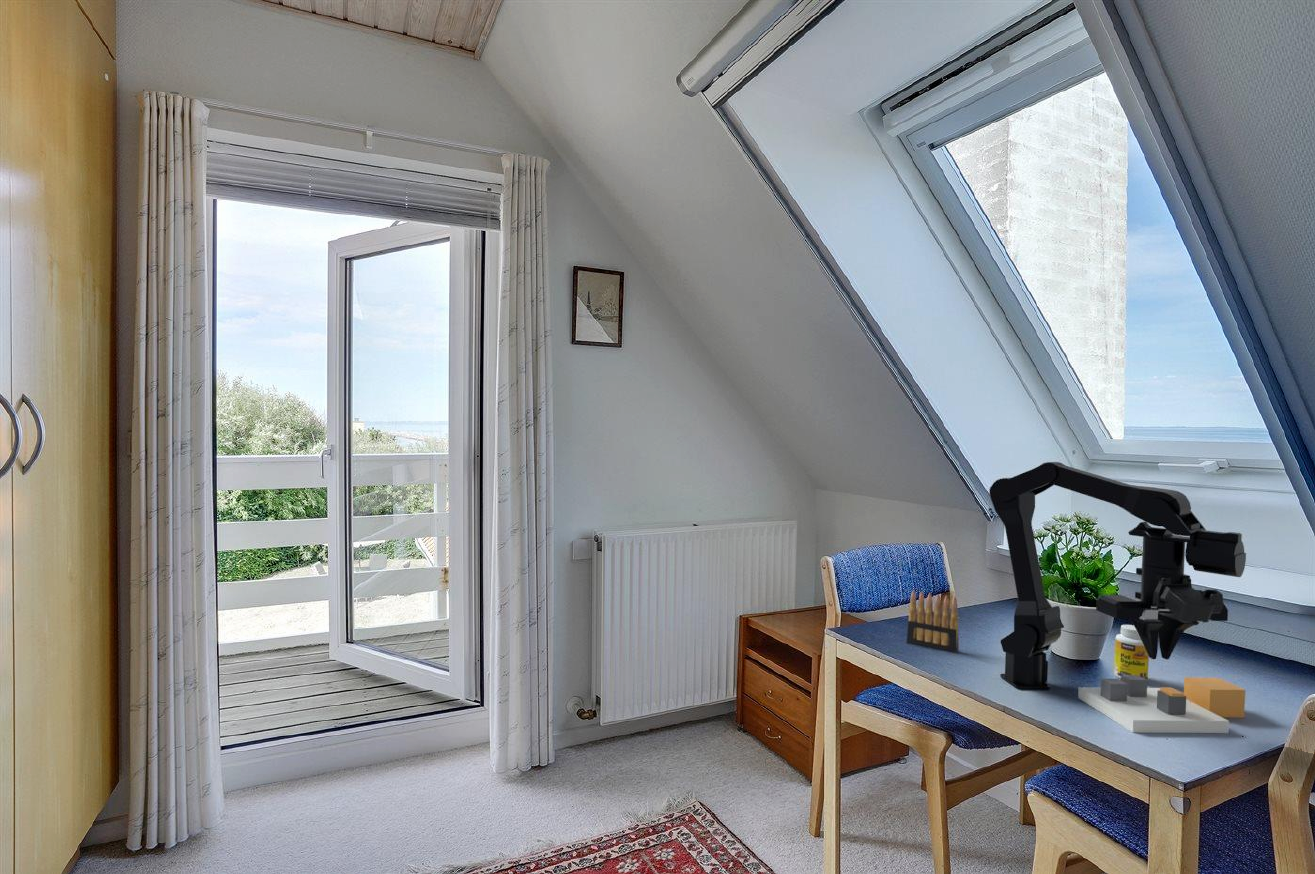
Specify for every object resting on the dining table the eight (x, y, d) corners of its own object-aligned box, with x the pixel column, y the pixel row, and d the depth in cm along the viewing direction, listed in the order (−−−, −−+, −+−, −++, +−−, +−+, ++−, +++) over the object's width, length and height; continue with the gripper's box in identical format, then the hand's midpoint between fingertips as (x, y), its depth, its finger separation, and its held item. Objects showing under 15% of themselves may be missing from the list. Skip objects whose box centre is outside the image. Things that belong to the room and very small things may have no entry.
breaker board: (1132, 732, 114) (1134, 701, 114) (1078, 697, 128) (1079, 670, 128) (1228, 733, 115) (1229, 702, 115) (1163, 698, 129) (1165, 671, 129)
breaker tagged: (1168, 714, 117) (1169, 693, 116) (1156, 707, 119) (1157, 687, 119) (1185, 714, 117) (1186, 693, 117) (1173, 707, 119) (1174, 687, 119)
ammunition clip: (958, 651, 153) (960, 596, 153) (956, 653, 152) (958, 598, 151) (908, 641, 160) (910, 588, 159) (906, 643, 158) (908, 589, 158)
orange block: (1209, 717, 121) (1210, 689, 121) (1183, 703, 127) (1184, 677, 126) (1244, 717, 121) (1245, 689, 121) (1216, 703, 127) (1217, 677, 127)
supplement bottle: (1114, 680, 138) (1117, 628, 137) (1112, 671, 142) (1114, 621, 142) (1149, 686, 135) (1151, 633, 135) (1146, 677, 140) (1148, 626, 139)
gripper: (1143, 575, 109) (1139, 675, 109) (1260, 577, 109) (1255, 676, 110) (1095, 561, 120) (1092, 651, 120) (1202, 562, 121) (1198, 653, 121)
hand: (1158, 658), depth 118 cm, fingers closed
